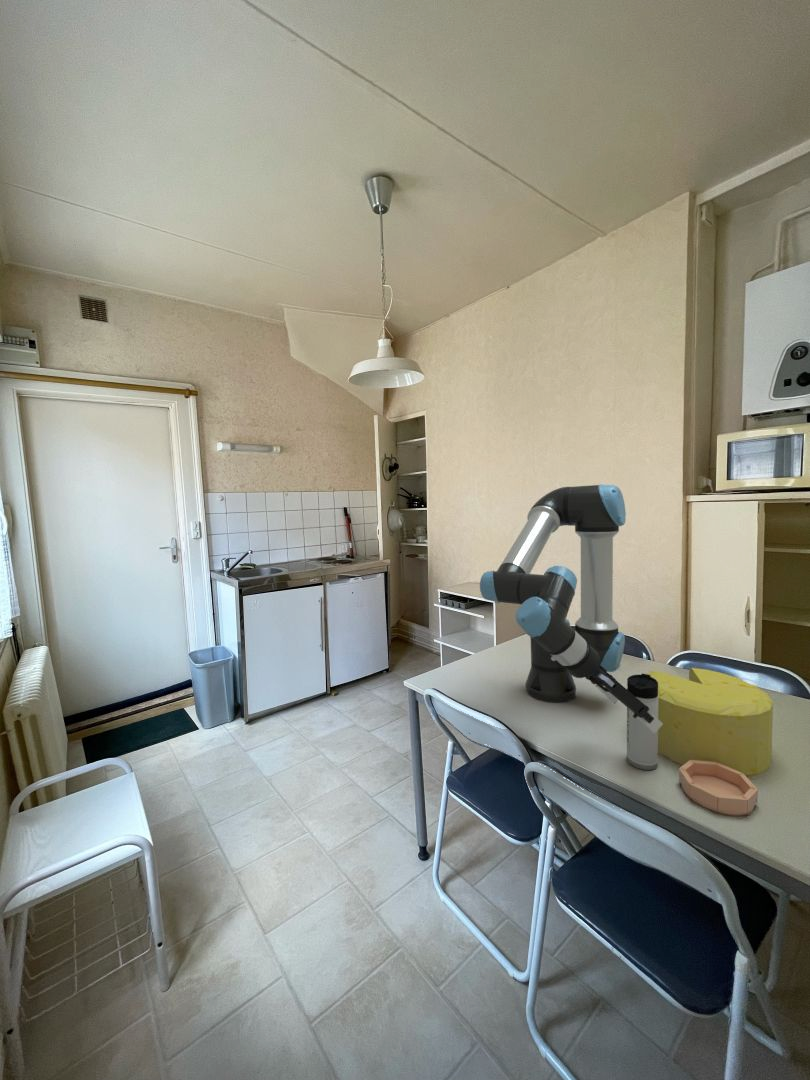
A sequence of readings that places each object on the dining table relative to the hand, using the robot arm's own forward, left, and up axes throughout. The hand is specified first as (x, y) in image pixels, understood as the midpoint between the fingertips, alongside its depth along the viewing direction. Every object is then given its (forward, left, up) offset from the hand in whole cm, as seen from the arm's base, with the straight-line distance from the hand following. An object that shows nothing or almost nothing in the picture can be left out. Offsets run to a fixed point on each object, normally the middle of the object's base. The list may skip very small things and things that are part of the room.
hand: (636, 712), depth 97 cm
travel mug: (+2, +1, -13) cm, 13 cm away
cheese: (+18, +12, -13) cm, 25 cm away
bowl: (+13, -8, -12) cm, 20 cm away
